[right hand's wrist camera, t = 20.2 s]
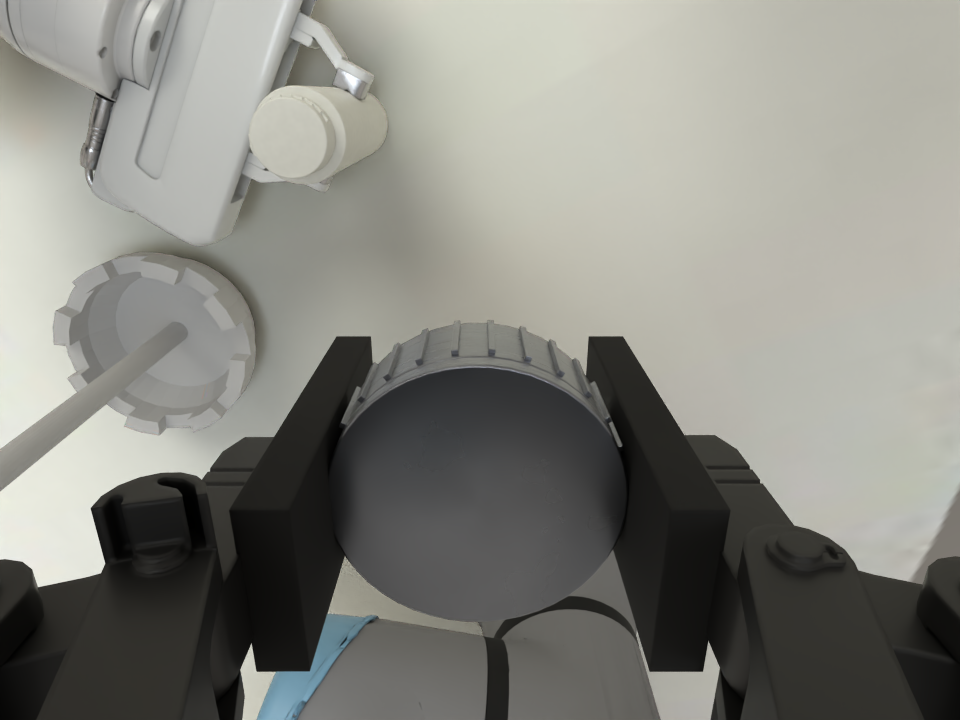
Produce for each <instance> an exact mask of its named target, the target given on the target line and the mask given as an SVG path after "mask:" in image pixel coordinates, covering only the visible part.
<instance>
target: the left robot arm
mask: <svg viewBox="0 0 960 720" xmlns="http://www.w3.org/2000/svg"><path fill="white" fill-rule="evenodd" d="M316 1H317V0H0V37H1V38H3V39H4V40H5V41H7V42H8V43H9V44H10V45H11V46H12V47H13V48H15V49H16V50H17V51H18V52H20V53H21V54H22V55H24V56H26V57H27V58H29V59H31V60H33V61H35V62H37V63H39V64H41V65H43V66H45V67H47V68H49V69H51V70H53V71H55V72H57V73H59V74H61V75H63V76H65V77H67V78H69V79H71V80H73V81H75V82H77V83H79V84H81V85H83V86H85V87H87V88H89V89H91V90H93V91H95V92H96V95H95V98H94V102H93V106H92V110H91V114H90V119H89V128H88V134H87V138H86V141H85V143H84V144H83V146H82V149H81V153H80V165H81V166H82V167H84V168H85V176H86V180H87V182H88V184H89V186H90V188H91V190H92V192H93V193H94V194H95V195H96V196H97V197H98V198H100V199H102V200H104V201H106V202H108V203H110V204H112V205H114V206H116V207H118V208H120V209H123V210H126V211H129V212H136V213H137V214H139V215H140V216H142V217H143V218H145V219H146V220H148V221H149V222H151V223H153V224H154V225H156V226H158V227H159V228H161V229H162V230H164V231H166V232H168V233H170V234H171V235H173V236H175V237H177V238H179V239H181V240H182V241H184V242H186V243H188V244H191V245H193V246H206V245H210V244H213V243H216V242H218V241H220V240H222V239H224V238H226V237H227V236H228V235H230V234H231V232H232V231H233V228H234V226H235V223H236V220H237V218H238V215H239V212H240V209H241V207H242V204H243V201H244V198H245V196H246V193H247V190H248V187H249V185H250V182H251V179H253V180H255V181H257V182H259V183H270V182H288V181H285V180H283V179H281V178H280V177H278V176H276V175H275V174H274V173H272V172H270V171H269V170H268V169H267V168H265V167H264V166H263V165H262V163H261V162H260V161H259V160H258V158H257V156H254V155H253V152H252V150H251V148H250V146H249V145H250V142H249V136H248V134H249V124H250V122H251V119H252V117H253V114H254V112H255V111H256V110H257V108H258V106H259V104H260V103H261V101H262V100H263V99H264V98H265V97H266V96H267V95H268V94H270V93H271V92H273V91H274V90H276V89H279V88H281V87H285V86H286V83H287V80H288V78H289V75H290V72H291V69H292V67H293V64H294V61H295V58H296V56H297V53H298V50H299V47H300V45H301V44H303V45H305V46H307V47H310V48H314V49H319V48H320V47H321V48H322V49H323V51H324V52H325V54H326V55H327V57H328V58H329V60H330V61H331V63H332V64H333V65H334V67H335V68H336V70H337V72H336V75H335V78H334V81H333V83H332V85H334V86H336V87H338V88H340V89H342V90H348V91H349V93H350V94H351V95H353V96H355V97H357V98H359V99H361V100H363V99H364V100H365V98H366V96H367V94H368V91H369V89H370V87H371V84H372V82H373V79H374V77H375V76H374V75H373V74H371V73H370V72H368V71H366V70H364V69H362V68H361V67H359V66H357V65H355V64H353V63H351V62H350V61H348V57H347V55H346V54H345V52H344V51H343V49H342V48H341V46H340V45H339V43H338V41H337V40H336V38H335V37H334V35H333V34H332V32H331V31H330V29H329V28H328V27H327V26H325V25H324V24H322V23H320V22H318V21H316V20H315V19H313V18H311V14H312V12H313V9H314V6H315V3H316ZM93 170H96V171H95V174H94V177H93ZM333 176H334V175H332V176H330V177H329V178H327V179H325V180H323V181H321V182H318V183H314V184H308V185H307V186H309V187H311V188H313V189H315V190H317V191H320V192H326V191H327V190H328V189H329V186H330V184H331V182H332V179H333Z"/></svg>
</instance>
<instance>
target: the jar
mask: <svg viewBox="0 0 960 720" xmlns="http://www.w3.org/2000/svg"><path fill="white" fill-rule="evenodd" d="M387 131H388V120H387V115H386V112H385V110H384V108H383V106H382V104H381V103H380V101H379V100H378V99H377V98H376V97H375V96H374V95H372V94H371V93H369V92H368V94H367V96H366V98H365V100H364V99H363V100H361V99H359V98H357V97H355V96H353V95H351V94H350V93H349V91H348V90H342V89H340V88H338V87H319V86H296V85H292V86H285V87H281V88H279V89H276V90H274V91H273V92H271V93H270V94H268V95H267V96H266V97H265V98H264V99H263V100H262V101H261V103H260V104H259V106H258V108H257V110H256V111H255V112H254V114H253V117H252V119H251V122H250V124H249V134H248V136H249V142H250V145H249V146H250V148H251V150H252V152H253V155H254V156H257V158H258V160H259V161H260V162H261V163H262V165H263V166H264V167H265V168H267V169H268V170H269V171H270V172H272V173H274V174H275V175H276V176H278V177H280V178H281V179H283V180H285V181H288V182H291V183H294V184H301V185H308V184H314V183H318V182H321V181H323V180H325V179H327V178H329V177H330V176H332V175H334V174H336V173H338V172H340V171H341V170H343V169H345V168H347V167H349V166H351V165H352V164H354V163H356V162H358V161H360V160H362V159H363V158H365V157H367V156H369V155H371V154H373V153H374V152H376V151H377V150H378V149H379V148H380V147H381V145H382V144H383V142H384V141H385V138H386V135H387Z"/></svg>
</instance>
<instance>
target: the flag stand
mask: <svg viewBox="0 0 960 720" xmlns="http://www.w3.org/2000/svg"><path fill="white" fill-rule="evenodd" d="M72 283H73V284H74V285H75V288H74V289H73V290H72V292H71V294H70V297H69V299H68V301H67V304H66V306H64V307H62V308H60V309H58V310H56V311H55V317H54V323H53V338H54V345H64V346H66V348H67V351H68V355H69V357H70V359H71V361H72V363H73V366H74V368H75V370H76V372H75V373H74V374H72V375H71V376H70V377H68V378H67V379H68V380H69V382H70V383H71V384H72V386H73V387H74V389H75V390H76V391H77V393H76V394H74V395H73V396H72V397H70V398H69V399H68V400H66V401H65V402H64V403H62V404H61V405H59V406H58V407H57V408H55V409H54V410H53V411H51V412H50V413H49V414H47V415H46V416H45V417H43V418H42V419H40V420H39V421H38V422H36V423H35V424H34V425H32V426H31V427H30V428H28V429H27V430H26V431H24V432H23V433H21V434H20V435H19V436H17V437H16V438H15V439H13V440H12V441H11V442H9V443H8V444H7V445H5V446H4V447H2V448H1V449H0V491H1V490H2V489H4V488H5V487H6V486H7V485H9V484H10V483H11V482H12V481H13V480H15V479H16V478H17V477H18V476H19V475H21V474H22V473H23V472H24V471H26V470H27V469H28V468H29V467H30V466H32V465H33V464H34V463H35V462H36V461H38V460H39V459H40V458H41V457H43V456H44V455H45V454H46V453H47V452H49V451H50V450H51V449H52V448H53V447H55V446H56V445H57V444H58V443H59V442H61V441H62V440H63V439H64V438H66V437H67V436H68V435H69V434H70V433H72V432H73V431H74V430H75V429H76V428H78V427H79V426H80V425H81V424H83V423H84V422H85V421H86V420H87V419H89V418H90V417H91V416H92V415H93V414H95V413H96V412H97V411H98V410H100V409H101V408H102V407H103V406H104V405H106V404H107V405H108V406H110V407H111V408H113V409H114V410H115V411H117V412H119V413H121V414H123V415H125V416H127V420H126V422H125V425H124V427H127V428H130V429H133V430H136V431H139V432H142V433H148V434H154V435H160V434H161V433H162V432H163V431H164V430H165V429H166V428H185V427H191V429H192V430H193V432H196V431H198V430H201V429H203V428H206V427H208V426H210V425H211V424H213V423H214V422H216V421H217V420H219V419H220V418H222V416H223V415H224V414H225V413H226V412H227V410H228V409H229V408H230V407H231V406H232V405H233V404H234V403H235V402H236V401H237V400H238V398H239V397H240V396H241V395H242V393H243V392H244V390H245V389H246V387H247V385H248V383H249V382H250V380H251V377H252V374H253V370H254V367H255V358H256V345H255V327H254V320H253V317H252V314H251V312H250V309H249V306H248V305H247V303H246V301H245V300H244V298H243V296H242V294H241V293H240V292H239V291H238V290H237V288H236V287H235V286H234V285H233V284H232V283H231V282H230V281H229V280H228V279H227V278H225V277H224V276H223V275H222V274H221V273H219V272H218V271H216V270H214V269H212V268H211V267H209V266H207V265H205V264H203V263H200V262H197V261H195V260H192V259H187V258H181V257H177V256H173V255H168V254H162V253H157V252H137V253H133V254H128V255H123V256H119V257H117V258H115V259H113V260H110V261H108V262H106V263H104V264H101V265H99V266H97V267H95V268H93V269H90V270H88V271H86V272H85V273H83V274H82V275H81V276H79V277H78V278H77V279H76V280H74V281H73V282H72Z"/></svg>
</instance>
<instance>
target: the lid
mask: <svg viewBox="0 0 960 720" xmlns="http://www.w3.org/2000/svg"><path fill="white" fill-rule="evenodd" d="M339 428H342V429H343V431H342V433H341V436H340V438H339V440H338V443H337V445H336V448H335V450H334V453H333V455H332V458H331V461H330V465H329V470H328V480H329V490H330V500H331V510H332V520H333V529H334V535H335V537H336V540H337V542H338V544H339V546H340V548H341V549H342V551H343V553H344V555H345V556H346V558H347V559H348V560H349V562H350V563H351V564H352V566H353V567H354V568H355V569H356V571H357V572H358V573H359V574H360V575H361V576H362V577H363V578H364V579H365V580H366V581H367V582H368V583H369V584H371V585H372V586H373V587H375V588H376V589H377V590H379V591H380V592H381V593H382V594H384V595H386V596H387V597H389V598H391V599H392V600H394V601H396V602H397V603H399V604H402V605H404V606H406V607H408V608H410V609H413V610H415V611H418V612H421V613H424V614H427V615H430V616H434V617H439V618H444V619H448V620H457V621H466V622H488V621H498V620H506V619H511V618H516V617H521V616H524V615H527V614H530V613H534V612H537V611H539V610H542V609H544V608H546V607H548V606H551V605H553V604H555V603H557V602H559V601H560V600H562V599H564V598H566V597H567V596H569V595H570V594H572V593H573V592H574V591H576V590H577V589H578V588H580V587H581V586H583V585H584V584H585V583H586V582H587V581H588V580H589V579H590V578H591V577H592V576H593V575H594V574H595V573H596V572H597V571H598V570H599V568H600V567H601V566H602V565H603V564H604V562H605V561H606V560H607V558H608V557H609V555H610V553H611V552H612V550H613V548H614V547H615V545H616V543H617V540H618V538H619V536H620V533H621V531H622V528H623V524H624V521H625V517H626V513H627V504H628V479H627V474H626V469H625V464H624V461H623V458H622V455H621V451H624V448H623V445H622V442H621V440H620V438H619V435H618V433H617V431H616V428H615V426H614V423H613V421H612V419H611V416H610V414H609V412H608V409H607V407H606V405H605V403H604V400H603V398H602V396H601V393H600V391H599V388H598V386H597V384H596V382H595V381H594V382H592V383H591V382H590V381H589V379H588V378H587V377H586V375H585V374H584V372H583V370H582V367H581V365H580V362H579V361H578V360H577V359H576V358H575V359H573V360H572V359H571V358H570V357H569V356H568V355H566V354H565V353H564V352H562V351H561V350H560V349H559V348H557V346H556V343H555V341H553V340H551V339H550V340H549V342H548V341H546V340H544V339H542V338H541V337H539V336H536V335H534V334H531V333H529V332H527V331H526V328H525V327H522V326H520V328H519V329H517V328H513V327H509V326H505V325H498V324H494V321H492V320H488V321H487V323H465V324H461V323H460V321H455V322H454V325H450V326H446V327H442V328H437V329H434V330H431V331H429V330H428V328H427V329H424V330H422V334H421V335H418V336H416V337H414V338H412V339H411V340H409V341H407V342H405V343H403V344H402V345H400V343H397V344H395V345H394V347H393V350H392V352H391V353H389V354H388V355H387V356H386V357H385V358H384V359H383V360H382V361H381V362H380V363H379V364H376V363H375V362H374V363H373V364H372V366H371V368H370V370H369V372H368V375H367V377H366V380H365V382H364V384H363V386H362V387H361V388H360V387H358V386H357V387H356V389H355V391H354V393H353V396H352V398H351V400H350V402H349V405H348V407H347V409H346V412H345V414H344V416H343V418H342V421H341V423H340V425H339Z"/></svg>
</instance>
